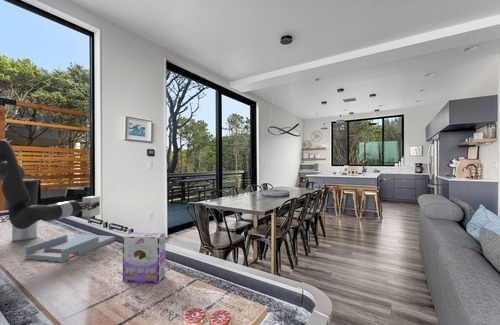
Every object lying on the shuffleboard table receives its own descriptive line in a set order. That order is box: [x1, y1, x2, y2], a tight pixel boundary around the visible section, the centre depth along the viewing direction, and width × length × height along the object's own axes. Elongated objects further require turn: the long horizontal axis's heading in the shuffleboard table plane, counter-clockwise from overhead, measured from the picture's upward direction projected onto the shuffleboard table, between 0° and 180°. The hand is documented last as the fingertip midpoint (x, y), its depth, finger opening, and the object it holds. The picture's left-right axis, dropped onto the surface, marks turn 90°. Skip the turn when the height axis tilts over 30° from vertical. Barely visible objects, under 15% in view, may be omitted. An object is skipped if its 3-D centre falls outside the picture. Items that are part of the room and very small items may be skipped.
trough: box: [24, 233, 116, 263], centre depth 117 cm, size 30×20×5 cm, turn 170°
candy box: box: [122, 231, 166, 284], centre depth 87 cm, size 14×6×16 cm, turn 84°
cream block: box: [81, 195, 101, 218], centre depth 127 cm, size 6×5×10 cm
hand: (94, 203), depth 129 cm, fingers closed on cream block, 5 cm apart
